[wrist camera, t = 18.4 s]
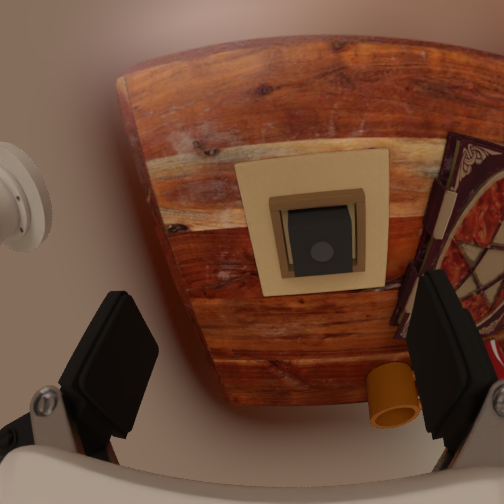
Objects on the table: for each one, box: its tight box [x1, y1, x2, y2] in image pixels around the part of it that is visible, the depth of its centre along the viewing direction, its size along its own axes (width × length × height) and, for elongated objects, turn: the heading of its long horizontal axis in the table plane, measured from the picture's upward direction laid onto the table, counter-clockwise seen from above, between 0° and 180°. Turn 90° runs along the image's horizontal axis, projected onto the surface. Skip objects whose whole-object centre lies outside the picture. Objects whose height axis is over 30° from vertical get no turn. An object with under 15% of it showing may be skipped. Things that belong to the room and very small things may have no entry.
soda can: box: [483, 338, 504, 380], centre depth 40 cm, size 5×5×12 cm
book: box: [390, 131, 504, 339], centre depth 33 cm, size 28×21×5 cm
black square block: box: [288, 205, 353, 277], centre depth 34 cm, size 6×6×4 cm
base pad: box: [234, 148, 389, 296], centre depth 35 cm, size 16×18×2 cm
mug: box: [366, 362, 422, 428], centre depth 47 cm, size 9×12×9 cm
